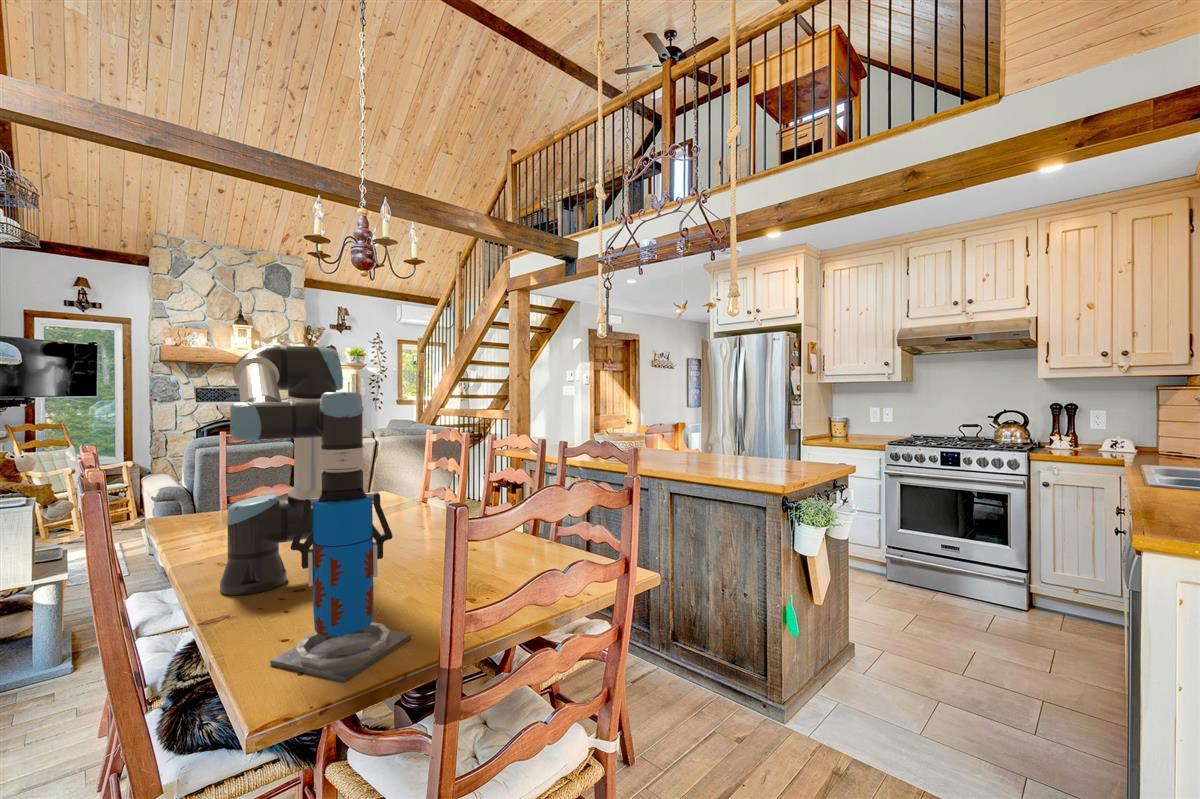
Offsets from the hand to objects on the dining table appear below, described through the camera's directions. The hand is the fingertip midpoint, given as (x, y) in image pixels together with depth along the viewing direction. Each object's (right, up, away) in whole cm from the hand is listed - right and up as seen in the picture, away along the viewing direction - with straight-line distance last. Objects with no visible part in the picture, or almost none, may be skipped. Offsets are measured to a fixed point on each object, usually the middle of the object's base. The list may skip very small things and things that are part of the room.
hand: (343, 579), depth 108 cm
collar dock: (0, -14, 0) cm, 14 cm away
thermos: (0, -9, 0) cm, 9 cm away
